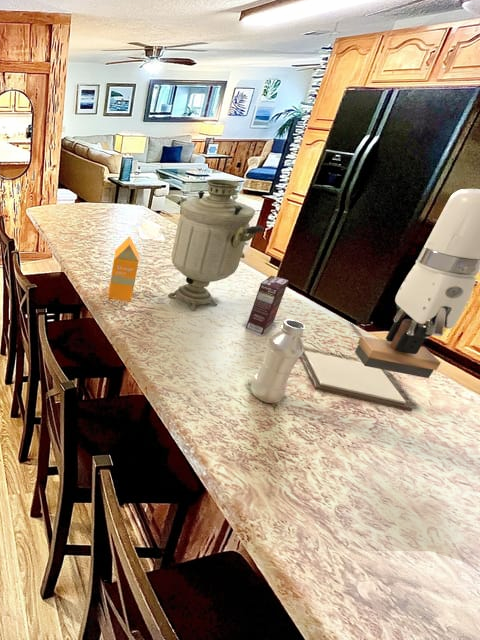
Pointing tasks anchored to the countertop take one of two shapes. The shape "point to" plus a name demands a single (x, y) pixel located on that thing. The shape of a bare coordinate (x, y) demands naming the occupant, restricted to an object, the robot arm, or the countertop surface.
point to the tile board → (352, 380)
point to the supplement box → (266, 305)
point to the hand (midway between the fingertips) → (400, 345)
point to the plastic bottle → (279, 362)
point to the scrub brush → (396, 355)
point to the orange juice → (124, 271)
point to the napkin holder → (151, 231)
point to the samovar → (210, 240)
